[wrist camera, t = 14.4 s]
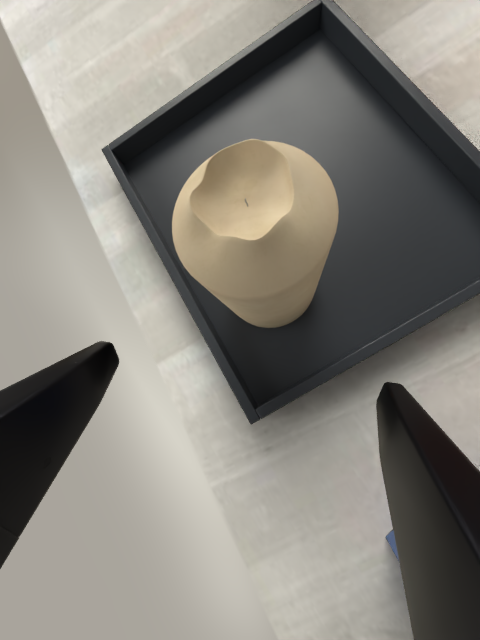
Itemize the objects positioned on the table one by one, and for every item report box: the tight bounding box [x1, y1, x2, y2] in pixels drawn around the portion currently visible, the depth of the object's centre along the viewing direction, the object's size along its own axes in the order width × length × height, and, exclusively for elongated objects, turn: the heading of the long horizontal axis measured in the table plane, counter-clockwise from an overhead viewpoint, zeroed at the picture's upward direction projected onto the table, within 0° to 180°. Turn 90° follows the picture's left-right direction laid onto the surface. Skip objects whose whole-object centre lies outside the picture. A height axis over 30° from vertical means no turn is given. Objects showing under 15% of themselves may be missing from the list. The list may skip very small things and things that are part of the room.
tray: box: [102, 0, 480, 424], centre depth 17 cm, size 18×21×2 cm
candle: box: [172, 139, 339, 328], centre depth 12 cm, size 6×6×10 cm
